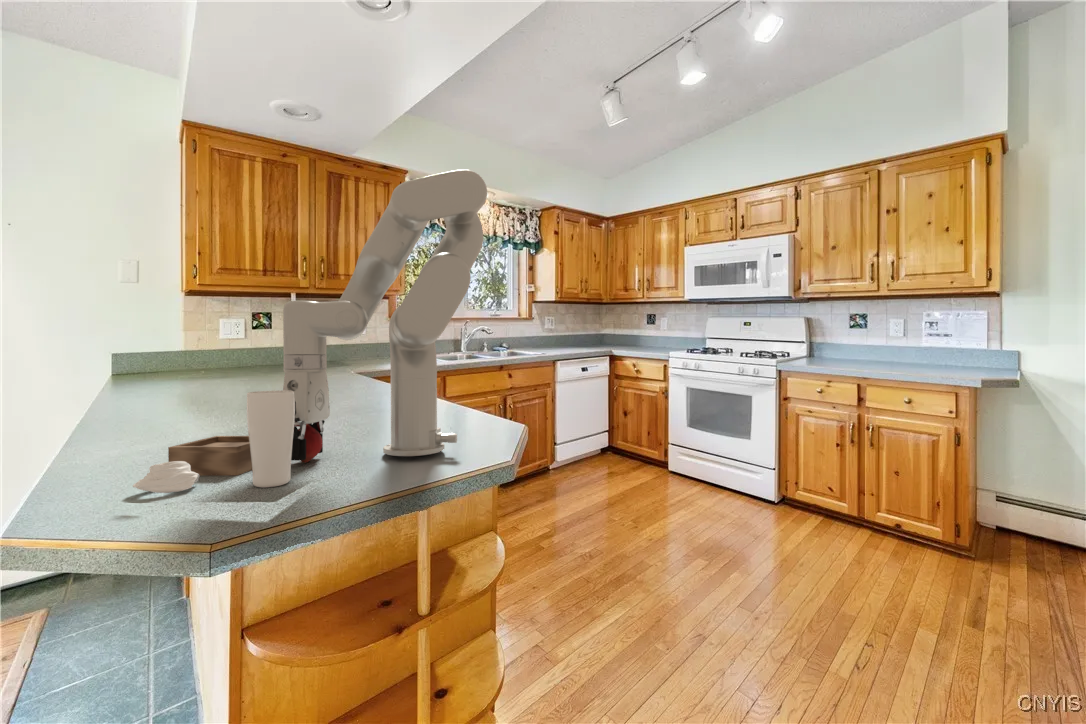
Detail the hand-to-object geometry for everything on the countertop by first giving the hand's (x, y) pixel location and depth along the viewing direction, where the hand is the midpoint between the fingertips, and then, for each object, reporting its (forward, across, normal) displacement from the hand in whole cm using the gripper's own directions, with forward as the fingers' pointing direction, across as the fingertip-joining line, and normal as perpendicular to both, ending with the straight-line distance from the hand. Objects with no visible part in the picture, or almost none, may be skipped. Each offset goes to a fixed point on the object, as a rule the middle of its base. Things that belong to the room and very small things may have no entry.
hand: (306, 455), depth 92 cm
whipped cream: (+2, -20, +11) cm, 23 cm away
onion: (+2, 0, 0) cm, 2 cm away
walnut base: (+1, -4, +13) cm, 14 cm away
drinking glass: (+2, -16, -2) cm, 16 cm away
